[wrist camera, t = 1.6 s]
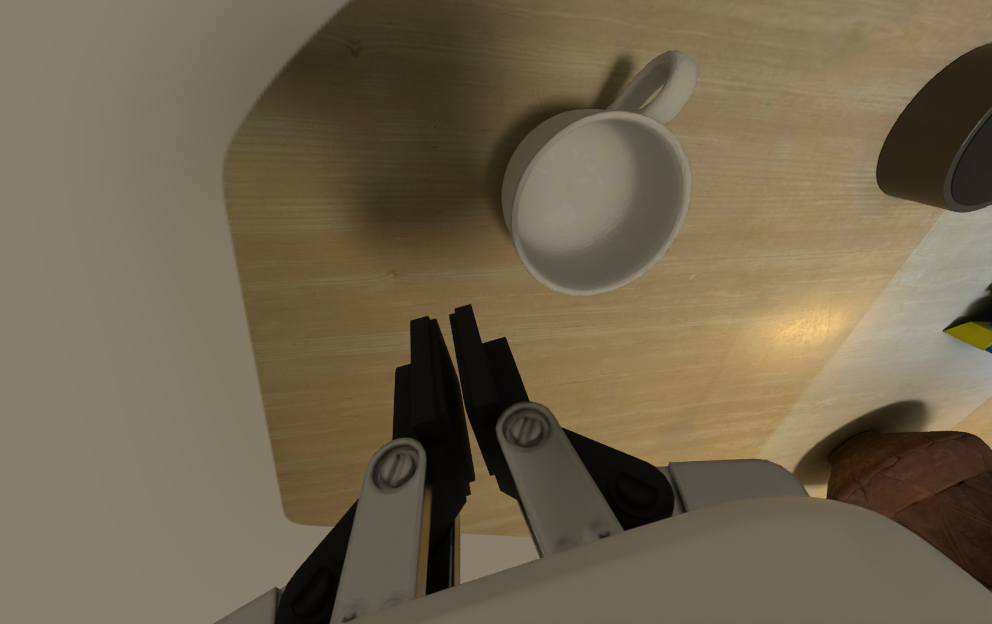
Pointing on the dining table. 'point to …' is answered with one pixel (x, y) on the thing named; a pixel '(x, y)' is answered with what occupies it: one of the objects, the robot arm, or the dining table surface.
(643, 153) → the teacup
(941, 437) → the pottery vessel
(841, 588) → the robot arm
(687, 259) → the dining table surface
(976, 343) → the decorative book
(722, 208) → the dining table surface
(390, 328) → the dining table surface
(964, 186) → the milk pan
